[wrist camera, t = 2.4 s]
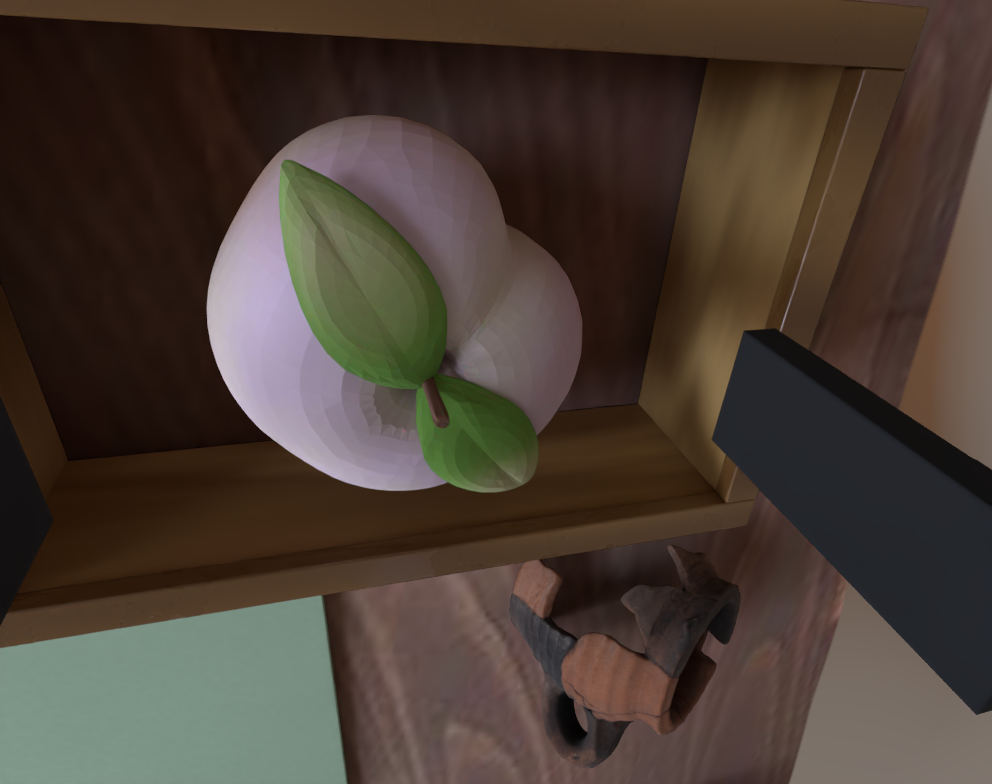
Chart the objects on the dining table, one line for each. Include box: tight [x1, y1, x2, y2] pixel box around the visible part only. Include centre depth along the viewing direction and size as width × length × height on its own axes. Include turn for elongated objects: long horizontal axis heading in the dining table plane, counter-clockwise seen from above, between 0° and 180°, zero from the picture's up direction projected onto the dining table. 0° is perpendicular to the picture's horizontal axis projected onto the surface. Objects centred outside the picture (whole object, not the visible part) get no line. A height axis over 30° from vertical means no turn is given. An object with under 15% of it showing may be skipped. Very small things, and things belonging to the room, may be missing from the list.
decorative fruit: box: [207, 115, 582, 492], centre depth 15 cm, size 9×8×10 cm
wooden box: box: [0, 0, 929, 648], centre depth 17 cm, size 15×23×7 cm, turn 87°
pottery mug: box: [509, 545, 741, 768], centre depth 29 cm, size 12×10×8 cm
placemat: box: [0, 595, 348, 784], centre depth 26 cm, size 22×18×1 cm
